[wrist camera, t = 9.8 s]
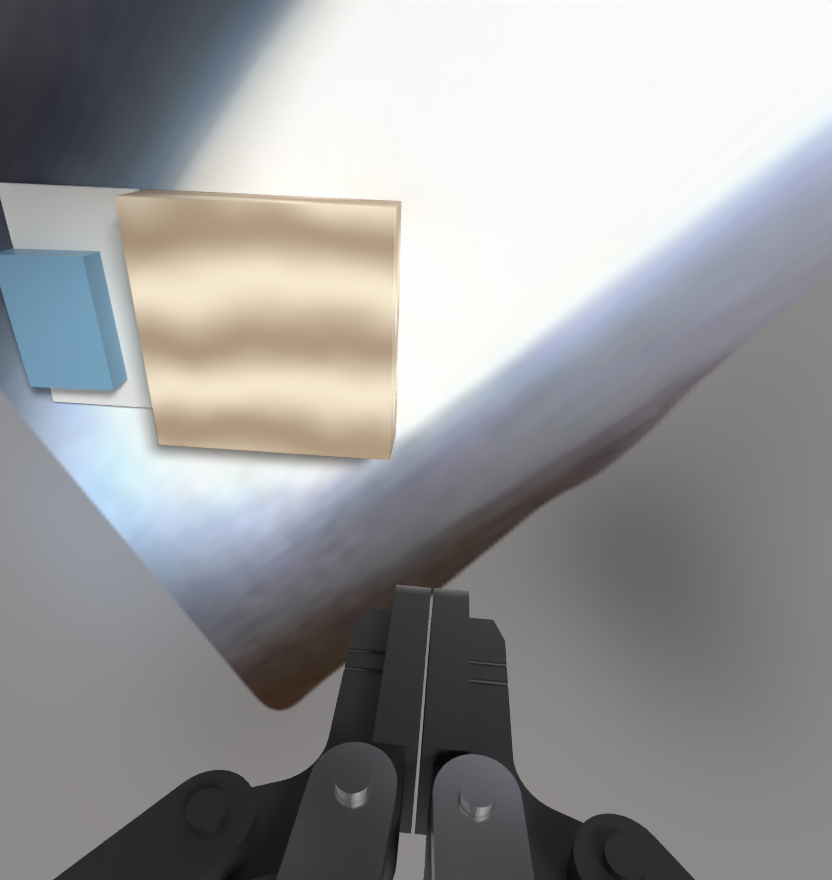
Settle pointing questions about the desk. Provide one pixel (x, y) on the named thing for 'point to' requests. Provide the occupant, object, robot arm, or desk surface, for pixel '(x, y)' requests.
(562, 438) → the desk surface
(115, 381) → the blue flat block
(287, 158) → the desk surface
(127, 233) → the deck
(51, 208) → the mat
